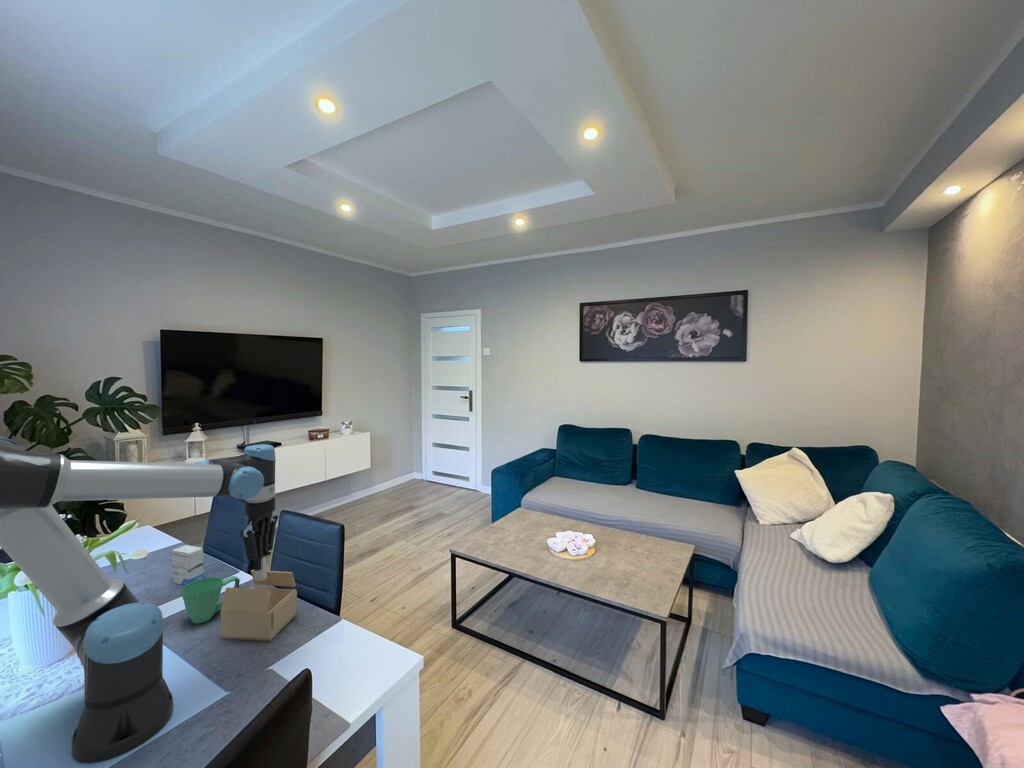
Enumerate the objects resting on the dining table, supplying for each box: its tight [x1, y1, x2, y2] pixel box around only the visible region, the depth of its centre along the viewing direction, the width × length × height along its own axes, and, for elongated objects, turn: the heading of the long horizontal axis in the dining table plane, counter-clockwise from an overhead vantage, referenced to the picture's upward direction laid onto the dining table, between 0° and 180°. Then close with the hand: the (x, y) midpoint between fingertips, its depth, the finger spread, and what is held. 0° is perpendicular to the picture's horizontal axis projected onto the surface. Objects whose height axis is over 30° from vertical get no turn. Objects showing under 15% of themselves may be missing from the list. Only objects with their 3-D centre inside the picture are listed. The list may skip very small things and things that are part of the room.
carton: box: [220, 586, 298, 642], centre depth 117 cm, size 12×15×8 cm
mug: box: [181, 575, 241, 624], centre depth 122 cm, size 15×10×10 cm
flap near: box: [220, 587, 271, 612], centre depth 111 cm, size 1×13×6 cm, turn 87°
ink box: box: [171, 544, 205, 587], centre depth 140 cm, size 9×5×12 cm, turn 73°
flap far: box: [250, 569, 297, 588], centre depth 122 cm, size 1×13×6 cm, turn 87°
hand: (260, 579), depth 116 cm, fingers closed
